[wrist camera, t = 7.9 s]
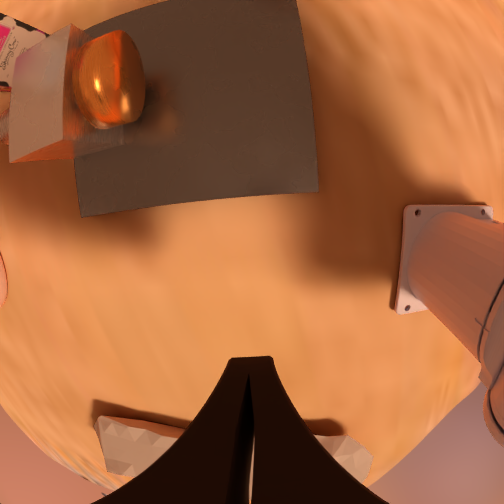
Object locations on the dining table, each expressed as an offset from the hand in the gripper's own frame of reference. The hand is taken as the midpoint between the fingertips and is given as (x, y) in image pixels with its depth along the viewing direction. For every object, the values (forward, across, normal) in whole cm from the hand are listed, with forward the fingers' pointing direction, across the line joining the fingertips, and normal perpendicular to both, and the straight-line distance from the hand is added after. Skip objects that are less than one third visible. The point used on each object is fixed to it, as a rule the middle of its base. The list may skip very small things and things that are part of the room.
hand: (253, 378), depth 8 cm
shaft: (+7, +9, -12) cm, 17 cm away
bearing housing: (+9, +4, -12) cm, 16 cm away
